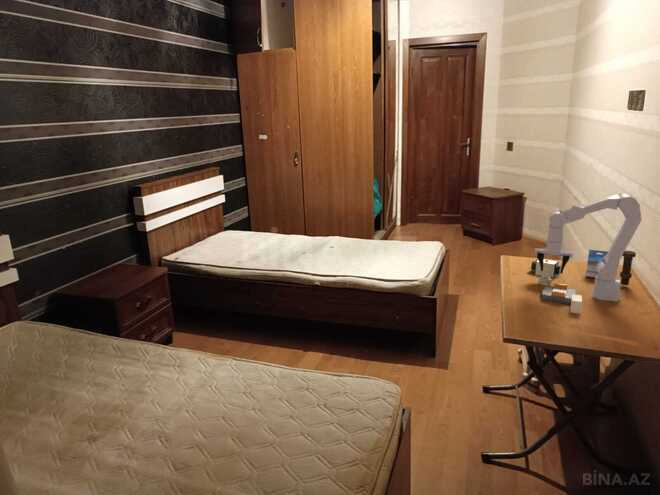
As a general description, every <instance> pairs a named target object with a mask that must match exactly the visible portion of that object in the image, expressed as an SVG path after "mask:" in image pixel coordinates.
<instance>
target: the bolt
mask: <svg viewBox="0 0 660 495" xmlns="http://www.w3.org/2000/svg"><path fill="white" fill-rule="evenodd" d="M636 254H637V253H636V251H632V250H625V251H624V253H623V255H622V257H623V261H622V262H623V263H622V267H621V268H622V270H621V271H620V272H619V277H620V280H621V284H620V285H622V286H629V284H630V279H631V278H632V275H633V273H632V272H631V270H632V263H633V258H636Z"/></svg>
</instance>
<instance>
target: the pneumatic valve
mask: <svg viewBox="0 0 660 495" xmlns="http://www.w3.org/2000/svg"><path fill="white" fill-rule="evenodd" d="M530 267H531V269H530V270H531V271H532V272H533V275H535V276H540V277H538V280H537V282H538V284H539V285H541V286H545V285H546V286H550V285H552V283H553V279H555V278H556V277H557V276H560V275H561V274H562V273H561V268H562V264H561V265H560V262H559V261H556V260H550V259H548V258H546V259H544V262H543V271H541V267H540V263H539V260H538V258H537V259H536V260H535V261H532V263H531V266H530ZM552 278H553V279H552Z"/></svg>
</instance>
